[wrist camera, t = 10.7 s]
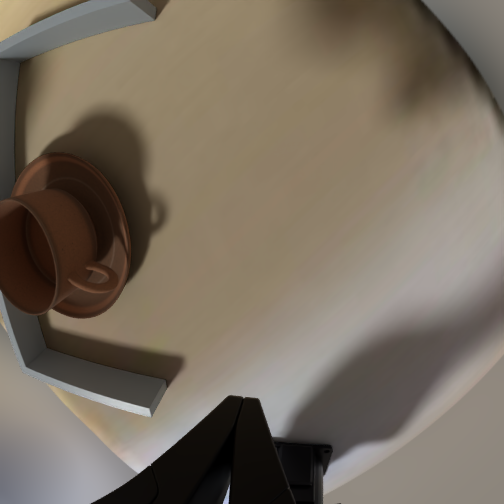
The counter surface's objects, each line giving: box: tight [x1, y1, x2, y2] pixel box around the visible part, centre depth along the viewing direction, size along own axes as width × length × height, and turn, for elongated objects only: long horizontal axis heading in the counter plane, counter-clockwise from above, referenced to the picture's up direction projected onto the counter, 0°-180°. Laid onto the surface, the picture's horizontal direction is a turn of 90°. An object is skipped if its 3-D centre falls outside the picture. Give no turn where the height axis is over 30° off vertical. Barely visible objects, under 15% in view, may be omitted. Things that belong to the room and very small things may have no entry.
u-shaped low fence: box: [0, 0, 167, 417], centre depth 18 cm, size 28×14×4 cm, turn 178°
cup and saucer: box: [0, 152, 131, 319], centre depth 18 cm, size 12×12×6 cm
